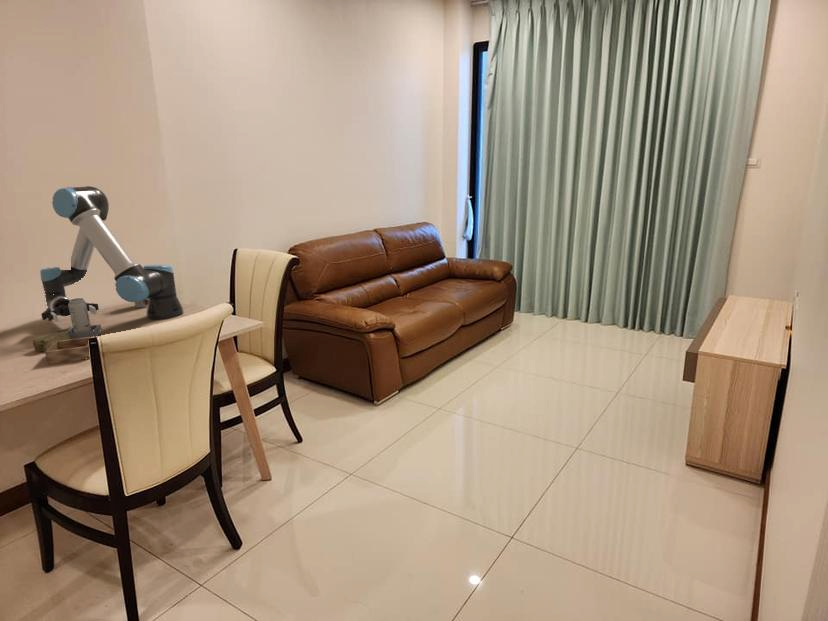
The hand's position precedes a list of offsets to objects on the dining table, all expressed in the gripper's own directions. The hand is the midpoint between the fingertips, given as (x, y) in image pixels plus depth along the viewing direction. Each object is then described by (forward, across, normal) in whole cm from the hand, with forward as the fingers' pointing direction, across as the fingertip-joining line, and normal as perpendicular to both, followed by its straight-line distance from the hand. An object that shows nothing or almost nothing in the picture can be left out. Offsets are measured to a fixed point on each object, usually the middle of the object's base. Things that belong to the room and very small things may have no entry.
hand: (76, 314), depth 210 cm
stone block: (+10, +12, -9) cm, 18 cm away
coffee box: (-29, -36, -9) cm, 47 cm away
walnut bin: (+28, +9, -8) cm, 31 cm away
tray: (+3, -1, -8) cm, 9 cm away
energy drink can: (+3, -1, -9) cm, 9 cm away
